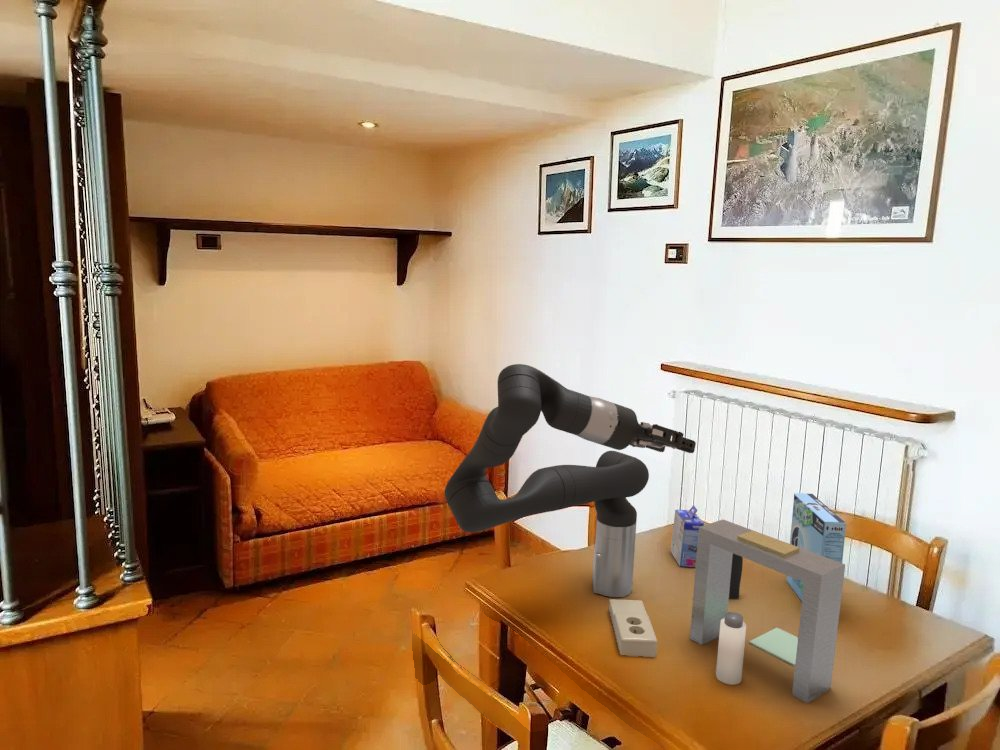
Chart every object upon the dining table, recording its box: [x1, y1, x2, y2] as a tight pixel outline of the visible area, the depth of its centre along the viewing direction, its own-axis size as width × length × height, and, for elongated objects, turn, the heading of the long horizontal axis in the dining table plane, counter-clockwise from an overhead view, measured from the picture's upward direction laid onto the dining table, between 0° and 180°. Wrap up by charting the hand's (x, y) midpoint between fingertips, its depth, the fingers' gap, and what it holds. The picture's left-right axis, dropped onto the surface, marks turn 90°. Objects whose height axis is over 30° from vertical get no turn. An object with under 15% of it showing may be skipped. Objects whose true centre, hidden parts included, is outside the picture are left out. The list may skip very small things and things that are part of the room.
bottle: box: [715, 611, 747, 686], centre depth 132 cm, size 5×5×12 cm
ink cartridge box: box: [670, 505, 705, 568], centre depth 184 cm, size 10×6×14 cm, turn 0°
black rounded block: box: [729, 553, 744, 599], centre depth 165 cm, size 7×4×11 cm, turn 87°
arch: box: [689, 519, 846, 705], centre depth 136 cm, size 8×26×25 cm, turn 37°
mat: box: [748, 627, 798, 667], centre depth 144 cm, size 10×10×1 cm
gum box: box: [786, 492, 847, 602], centre depth 163 cm, size 20×5×23 cm, turn 176°
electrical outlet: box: [608, 598, 658, 658], centre depth 148 cm, size 7×4×18 cm
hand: (678, 447), depth 126 cm, fingers open, 8 cm apart
